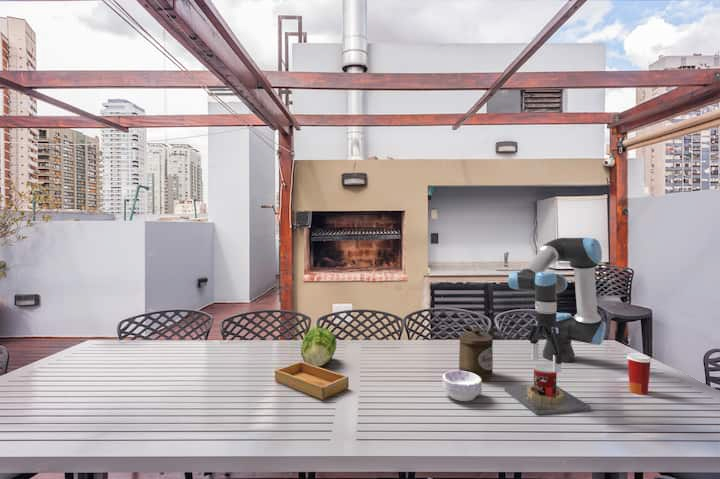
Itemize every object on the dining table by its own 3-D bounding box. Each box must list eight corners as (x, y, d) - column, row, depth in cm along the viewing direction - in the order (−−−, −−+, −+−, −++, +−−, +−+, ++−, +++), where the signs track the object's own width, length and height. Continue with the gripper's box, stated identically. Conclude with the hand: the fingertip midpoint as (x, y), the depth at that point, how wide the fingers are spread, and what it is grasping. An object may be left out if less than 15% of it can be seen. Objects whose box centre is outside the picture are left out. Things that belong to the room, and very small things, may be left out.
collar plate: (504, 390, 159) (504, 381, 159) (552, 386, 163) (552, 378, 163) (536, 415, 138) (536, 405, 137) (590, 410, 141) (591, 401, 141)
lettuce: (291, 356, 178) (324, 334, 177) (294, 334, 200) (323, 314, 200) (313, 384, 182) (346, 362, 181) (314, 359, 204) (342, 340, 204)
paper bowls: (460, 408, 143) (460, 387, 143) (434, 393, 156) (434, 373, 156) (490, 400, 150) (490, 380, 150) (463, 386, 164) (463, 367, 163)
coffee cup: (646, 389, 160) (647, 353, 160) (654, 397, 152) (654, 359, 152) (623, 386, 163) (623, 351, 163) (629, 394, 155) (630, 357, 155)
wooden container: (488, 383, 166) (488, 333, 166) (454, 376, 174) (455, 328, 174) (495, 373, 179) (496, 326, 178) (464, 367, 187) (464, 322, 186)
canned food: (529, 392, 154) (530, 365, 153) (548, 391, 154) (549, 364, 154) (540, 400, 146) (541, 371, 146) (560, 399, 147) (560, 371, 147)
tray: (274, 381, 170) (274, 369, 169) (301, 372, 181) (301, 360, 181) (322, 402, 149) (322, 387, 149) (348, 389, 161) (348, 376, 161)
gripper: (518, 305, 161) (518, 355, 162) (558, 319, 137) (557, 378, 137) (535, 304, 162) (535, 354, 163) (577, 318, 138) (576, 376, 138)
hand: (545, 365), depth 150 cm, fingers open, 13 cm apart
